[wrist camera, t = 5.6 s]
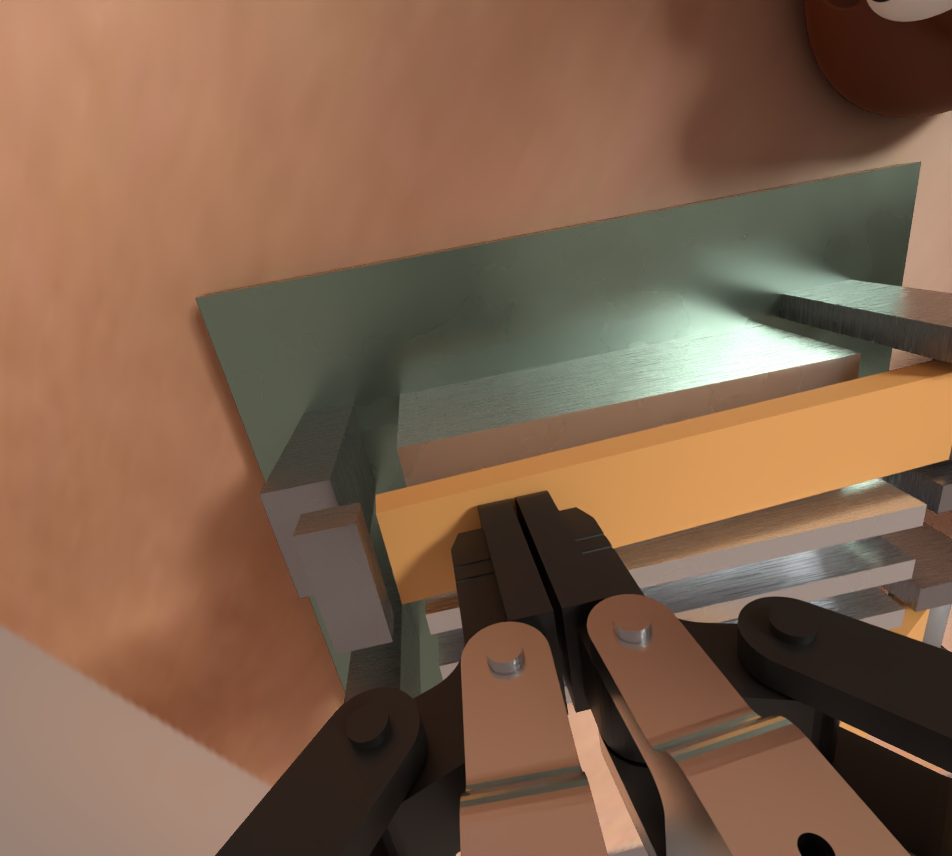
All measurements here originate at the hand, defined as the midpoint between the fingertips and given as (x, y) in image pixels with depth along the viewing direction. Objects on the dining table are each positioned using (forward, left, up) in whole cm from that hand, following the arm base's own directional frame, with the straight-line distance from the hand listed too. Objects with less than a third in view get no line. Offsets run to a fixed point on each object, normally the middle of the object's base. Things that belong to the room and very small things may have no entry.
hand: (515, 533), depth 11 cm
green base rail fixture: (-4, +3, -7) cm, 9 cm away
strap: (-5, 0, -1) cm, 5 cm away
